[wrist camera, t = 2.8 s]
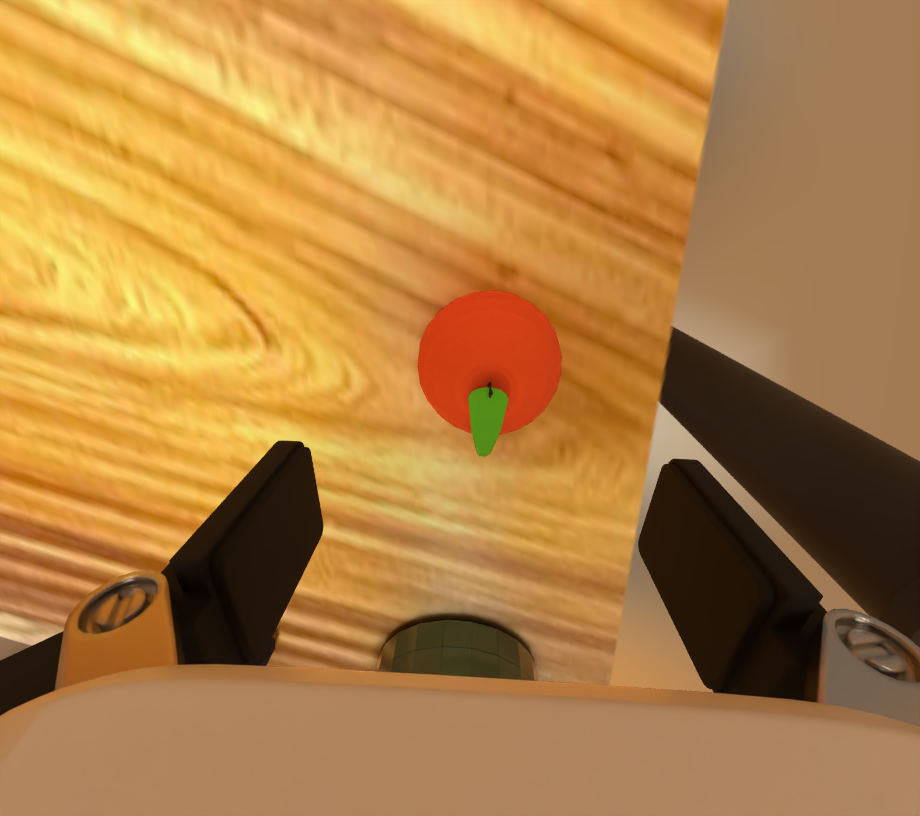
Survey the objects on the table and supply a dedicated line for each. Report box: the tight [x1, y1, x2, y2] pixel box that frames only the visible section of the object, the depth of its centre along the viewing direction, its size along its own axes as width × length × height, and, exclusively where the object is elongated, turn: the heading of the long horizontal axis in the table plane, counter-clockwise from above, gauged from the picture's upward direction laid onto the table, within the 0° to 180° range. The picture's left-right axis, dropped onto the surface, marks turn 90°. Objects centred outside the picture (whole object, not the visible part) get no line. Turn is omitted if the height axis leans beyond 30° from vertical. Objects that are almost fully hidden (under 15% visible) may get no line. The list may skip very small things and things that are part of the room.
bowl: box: [376, 620, 538, 681], centre depth 33 cm, size 14×14×5 cm
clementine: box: [418, 291, 562, 456], centre depth 19 cm, size 8×7×7 cm
